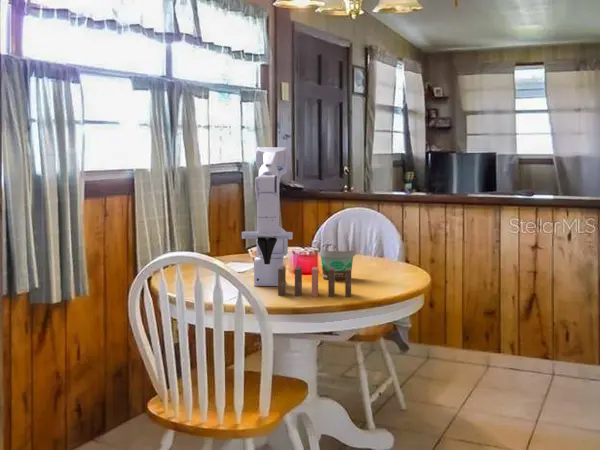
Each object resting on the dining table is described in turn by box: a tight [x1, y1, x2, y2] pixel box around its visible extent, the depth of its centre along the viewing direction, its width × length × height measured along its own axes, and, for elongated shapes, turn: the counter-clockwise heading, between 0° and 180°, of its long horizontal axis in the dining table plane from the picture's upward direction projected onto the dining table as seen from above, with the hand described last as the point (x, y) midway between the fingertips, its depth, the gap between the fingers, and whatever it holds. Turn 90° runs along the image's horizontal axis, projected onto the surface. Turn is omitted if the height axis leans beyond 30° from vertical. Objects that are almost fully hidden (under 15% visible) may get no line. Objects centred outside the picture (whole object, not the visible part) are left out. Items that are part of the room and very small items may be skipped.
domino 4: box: [327, 267, 336, 298], centre depth 212 cm, size 2×5×8 cm, turn 174°
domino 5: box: [344, 268, 352, 298], centre depth 212 cm, size 2×5×8 cm, turn 174°
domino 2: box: [294, 266, 303, 297], centre depth 213 cm, size 2×5×8 cm, turn 174°
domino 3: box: [311, 266, 319, 297], centre depth 213 cm, size 2×5×8 cm, turn 175°
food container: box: [318, 248, 356, 282], centre depth 237 cm, size 12×6×10 cm, turn 101°
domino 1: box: [277, 266, 287, 297], centre depth 214 cm, size 2×5×8 cm, turn 174°
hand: (267, 263), depth 205 cm, fingers closed
